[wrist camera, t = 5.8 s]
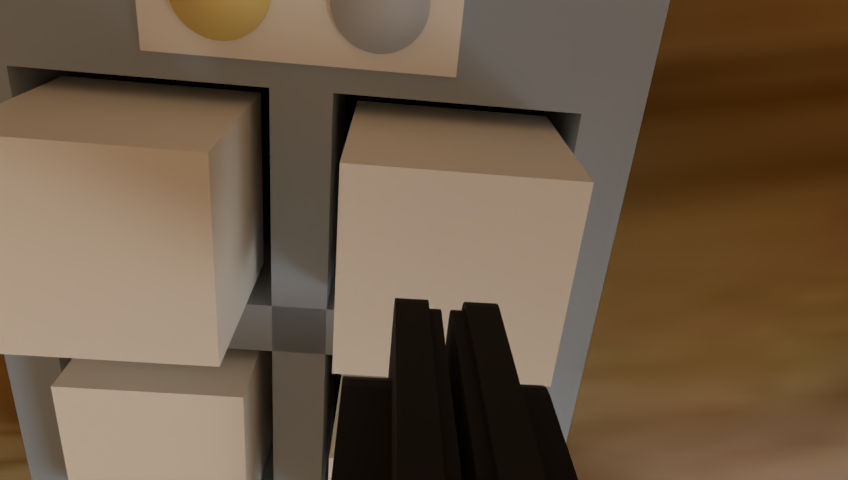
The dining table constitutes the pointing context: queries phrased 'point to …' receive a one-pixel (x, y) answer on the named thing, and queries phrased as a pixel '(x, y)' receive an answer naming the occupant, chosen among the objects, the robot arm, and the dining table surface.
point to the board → (324, 142)
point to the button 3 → (455, 228)
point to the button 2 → (166, 418)
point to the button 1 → (128, 220)
